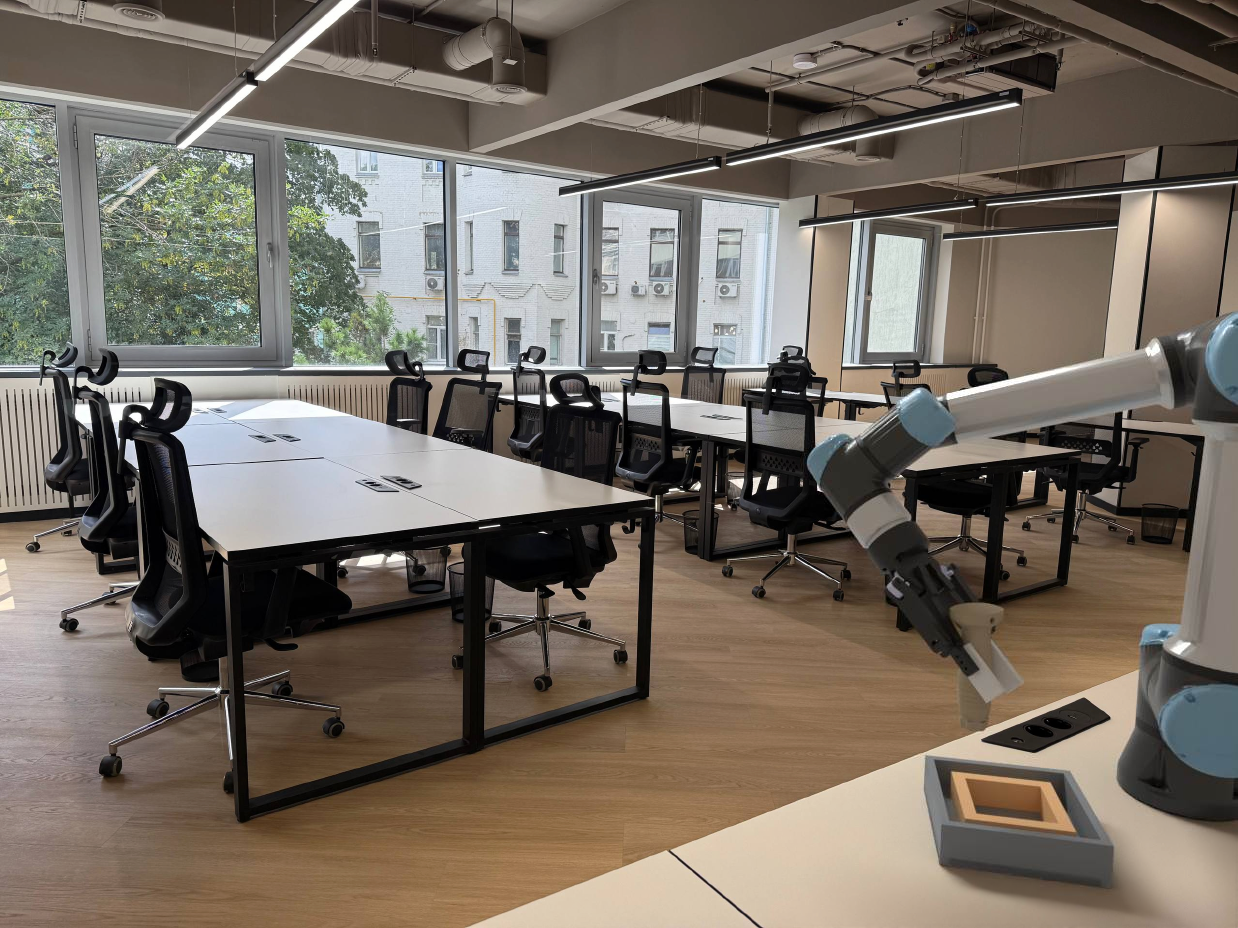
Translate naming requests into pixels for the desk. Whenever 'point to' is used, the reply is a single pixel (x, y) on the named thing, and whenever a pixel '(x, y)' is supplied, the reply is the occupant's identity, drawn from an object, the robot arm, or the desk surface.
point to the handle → (978, 633)
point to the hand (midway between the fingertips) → (1005, 692)
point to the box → (1015, 821)
